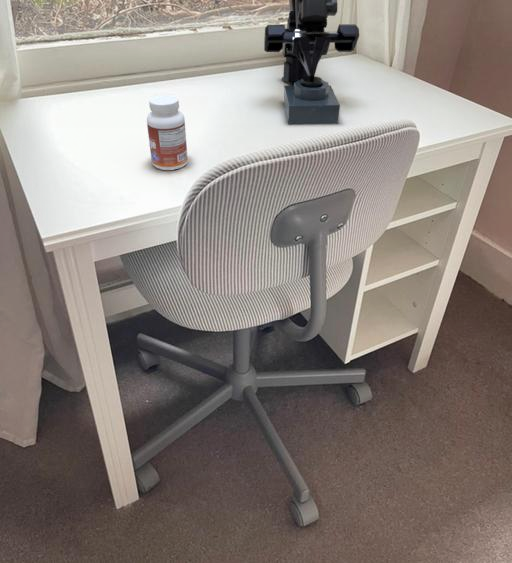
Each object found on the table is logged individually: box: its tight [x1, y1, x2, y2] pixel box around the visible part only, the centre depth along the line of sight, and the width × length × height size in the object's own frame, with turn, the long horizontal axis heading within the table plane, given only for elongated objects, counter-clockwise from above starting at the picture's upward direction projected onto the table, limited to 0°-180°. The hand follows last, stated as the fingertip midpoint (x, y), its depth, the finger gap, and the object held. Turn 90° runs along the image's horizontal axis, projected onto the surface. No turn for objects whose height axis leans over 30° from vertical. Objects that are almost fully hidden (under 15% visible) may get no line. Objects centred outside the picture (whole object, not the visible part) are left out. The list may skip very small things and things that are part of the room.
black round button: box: [302, 75, 323, 88], centre depth 108 cm, size 4×4×2 cm
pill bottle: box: [146, 94, 188, 171], centre depth 89 cm, size 6×6×11 cm
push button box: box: [283, 79, 341, 125], centre depth 110 cm, size 12×10×6 cm
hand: (312, 77), depth 107 cm, fingers closed, pressing on black round button
